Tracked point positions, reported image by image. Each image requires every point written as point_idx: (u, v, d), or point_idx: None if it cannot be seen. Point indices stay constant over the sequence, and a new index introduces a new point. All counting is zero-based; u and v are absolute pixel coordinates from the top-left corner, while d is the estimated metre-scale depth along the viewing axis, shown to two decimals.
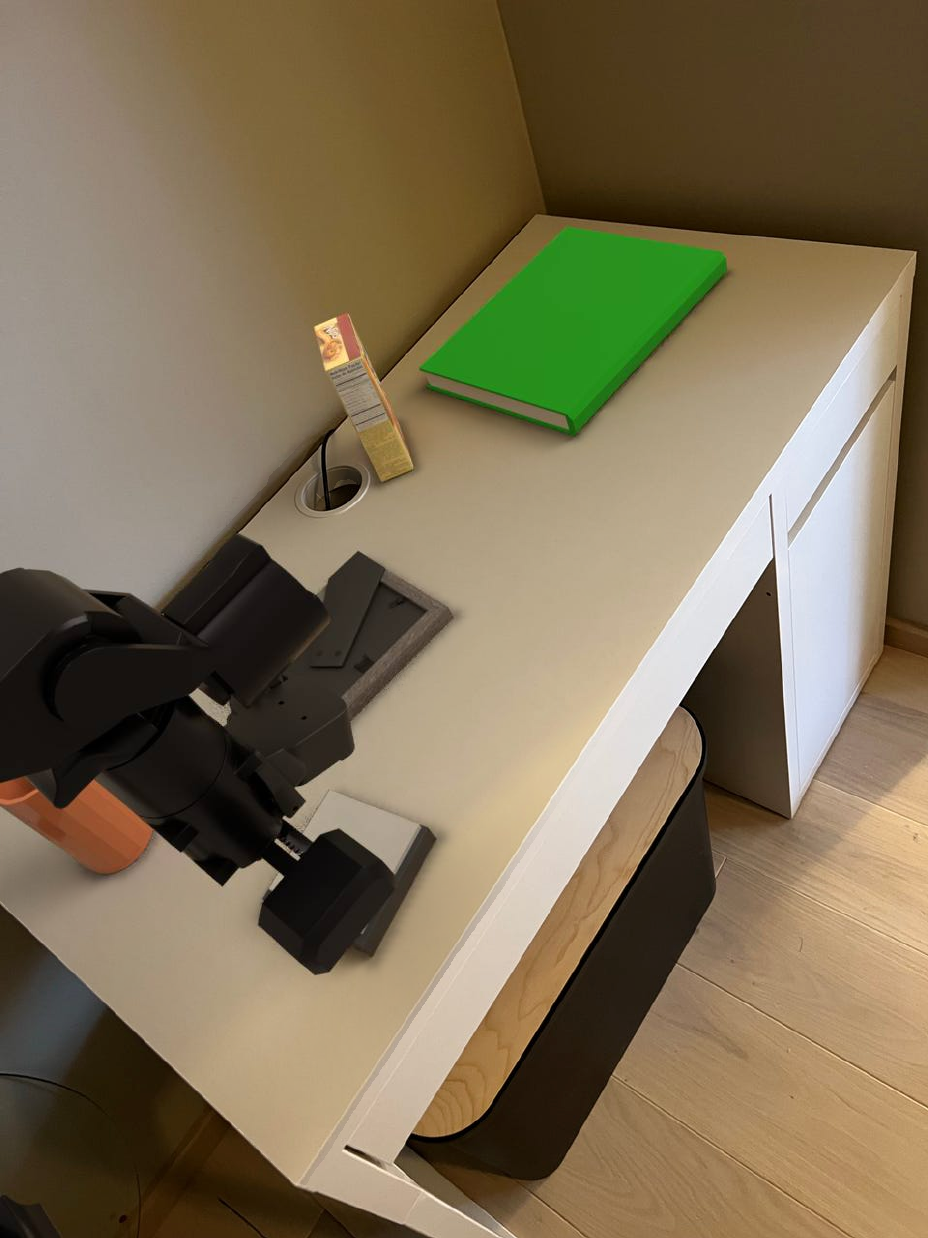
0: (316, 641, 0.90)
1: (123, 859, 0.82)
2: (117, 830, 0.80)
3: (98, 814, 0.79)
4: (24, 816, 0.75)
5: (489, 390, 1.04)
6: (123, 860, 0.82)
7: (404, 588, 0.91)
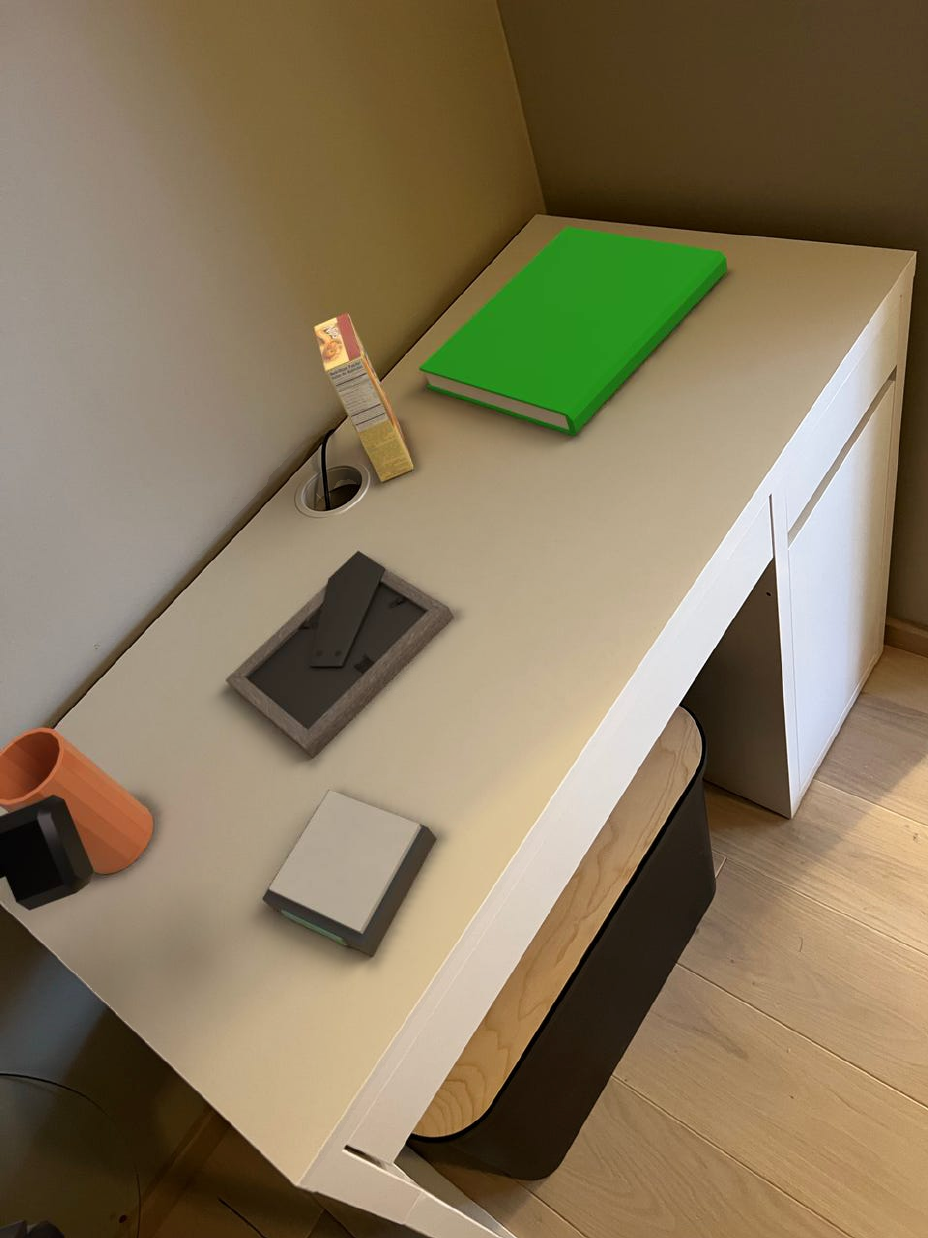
0: (316, 641, 0.90)
1: (123, 859, 0.82)
2: (117, 830, 0.80)
3: (98, 814, 0.79)
4: None
5: (489, 390, 1.04)
6: (123, 860, 0.82)
7: (404, 588, 0.91)
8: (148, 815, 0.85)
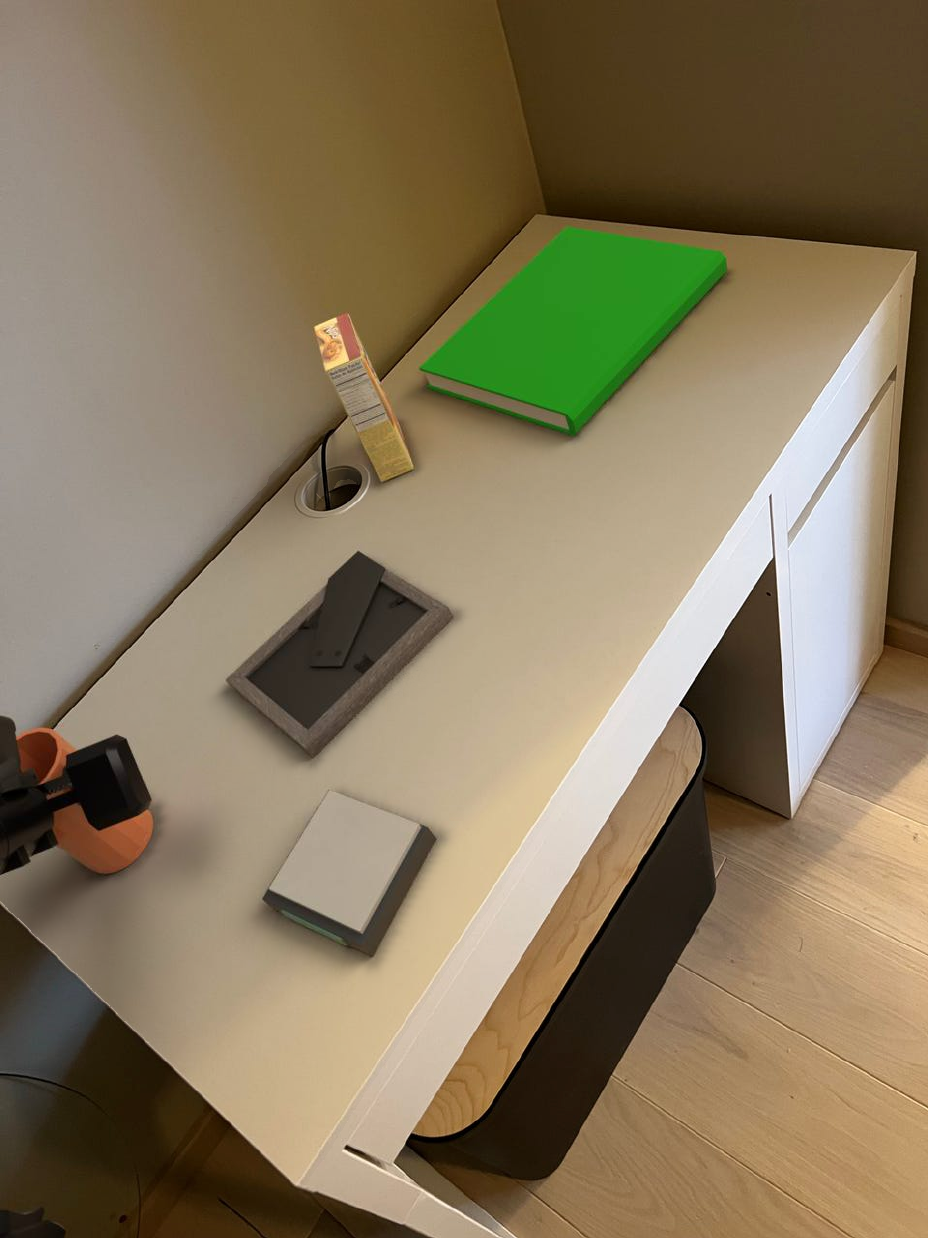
0: (316, 641, 0.90)
1: (123, 859, 0.82)
2: (116, 830, 0.80)
3: None
4: None
5: (489, 390, 1.04)
6: (123, 860, 0.82)
7: (404, 588, 0.91)
8: (148, 815, 0.85)
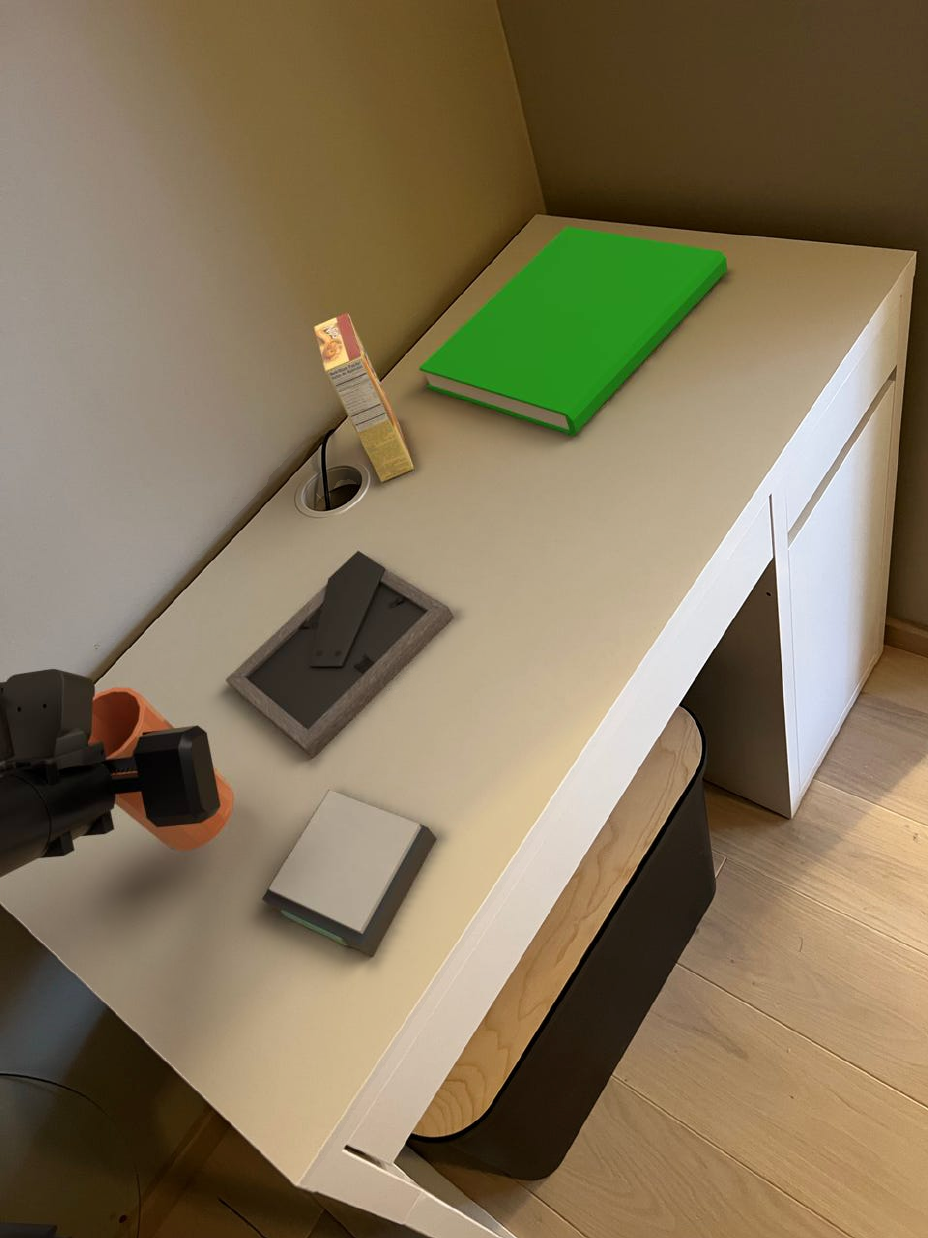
0: (316, 641, 0.90)
1: (192, 841, 0.75)
2: None
3: None
4: None
5: (489, 390, 1.04)
6: (191, 842, 0.75)
7: (404, 588, 0.91)
8: (229, 798, 0.77)
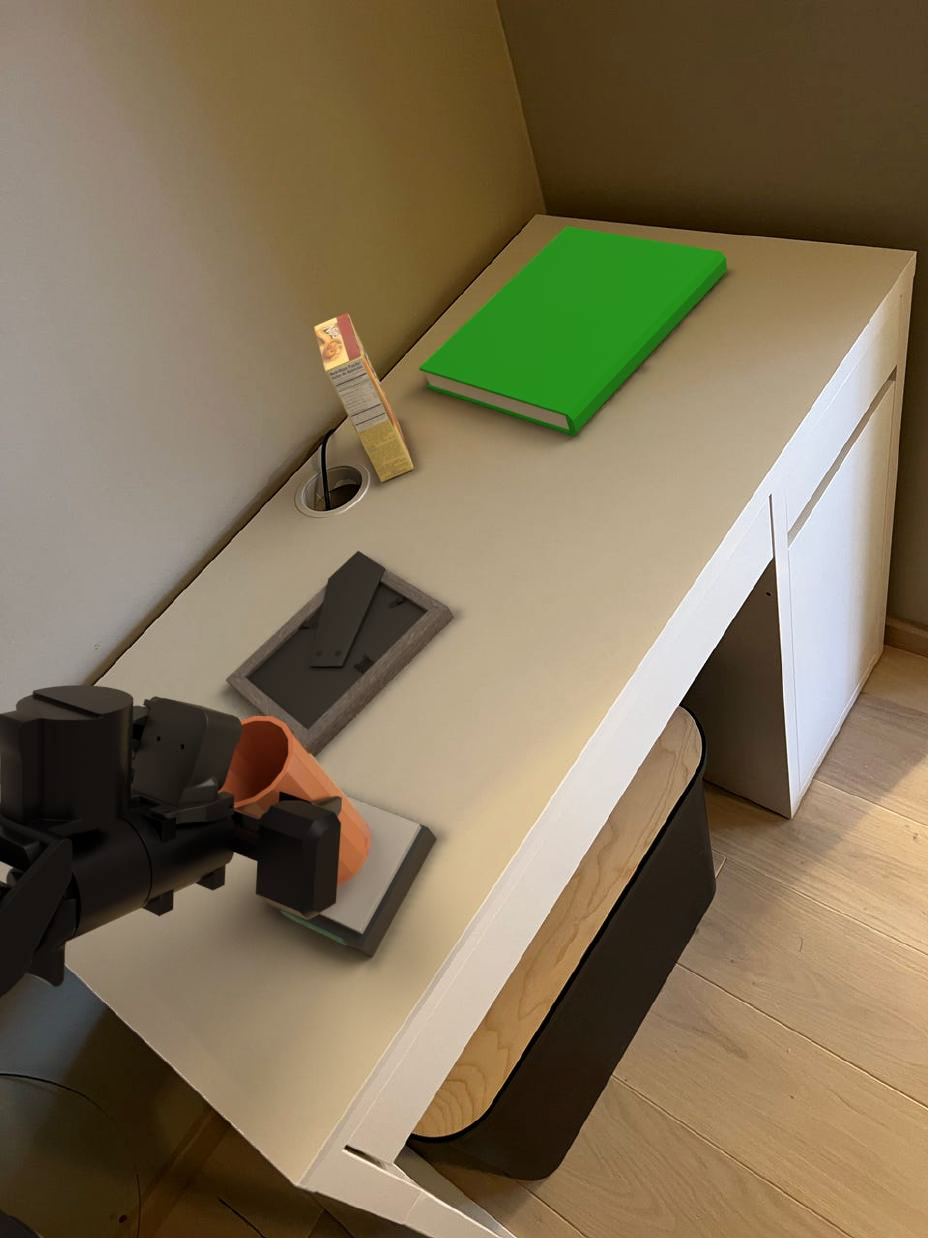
0: (316, 641, 0.90)
1: None
2: None
3: None
4: None
5: (489, 390, 1.04)
6: None
7: (404, 588, 0.91)
8: (364, 851, 0.70)
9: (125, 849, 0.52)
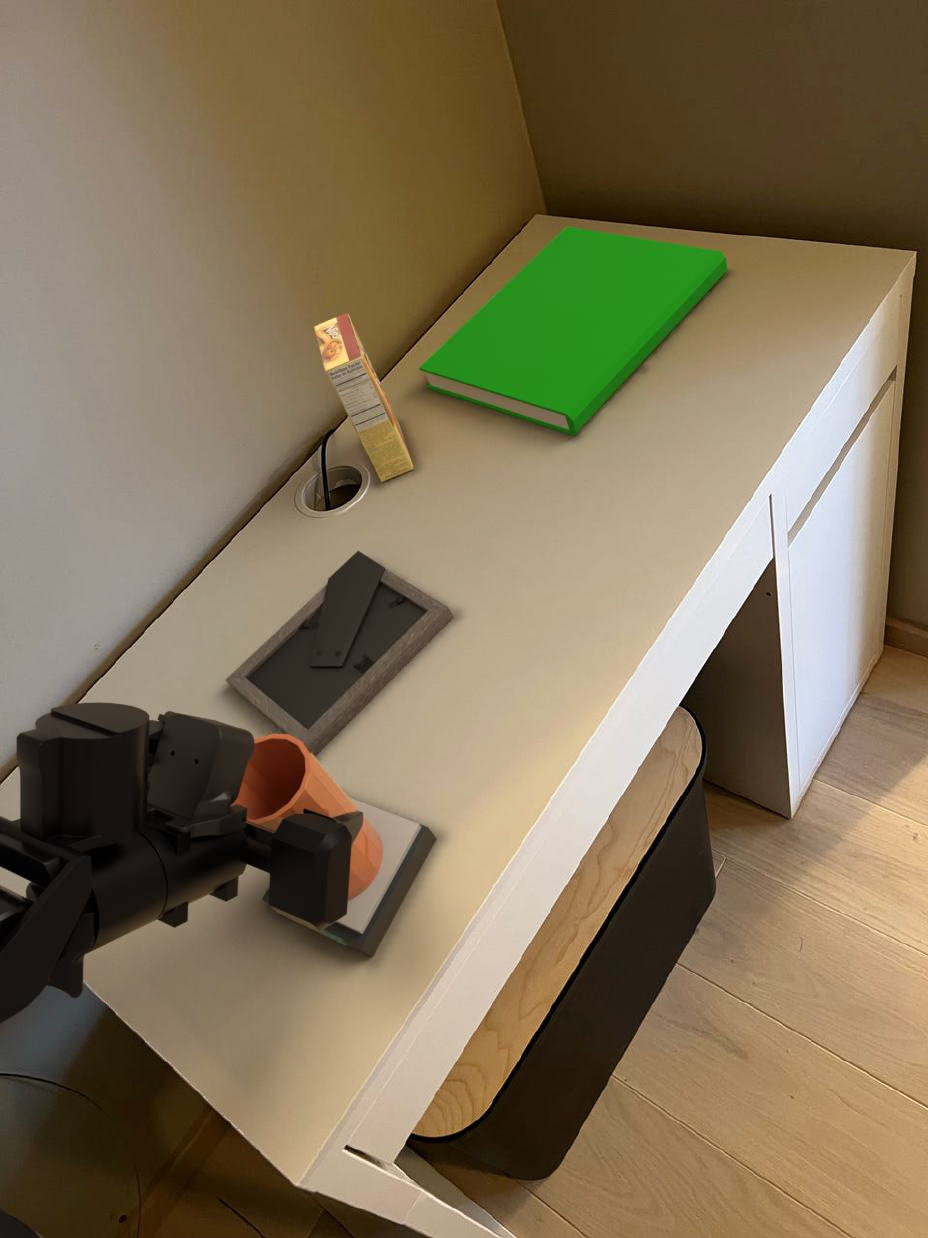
0: (316, 641, 0.90)
1: None
2: None
3: None
4: None
5: (489, 390, 1.04)
6: None
7: (404, 588, 0.91)
8: (376, 863, 0.72)
9: (141, 863, 0.53)
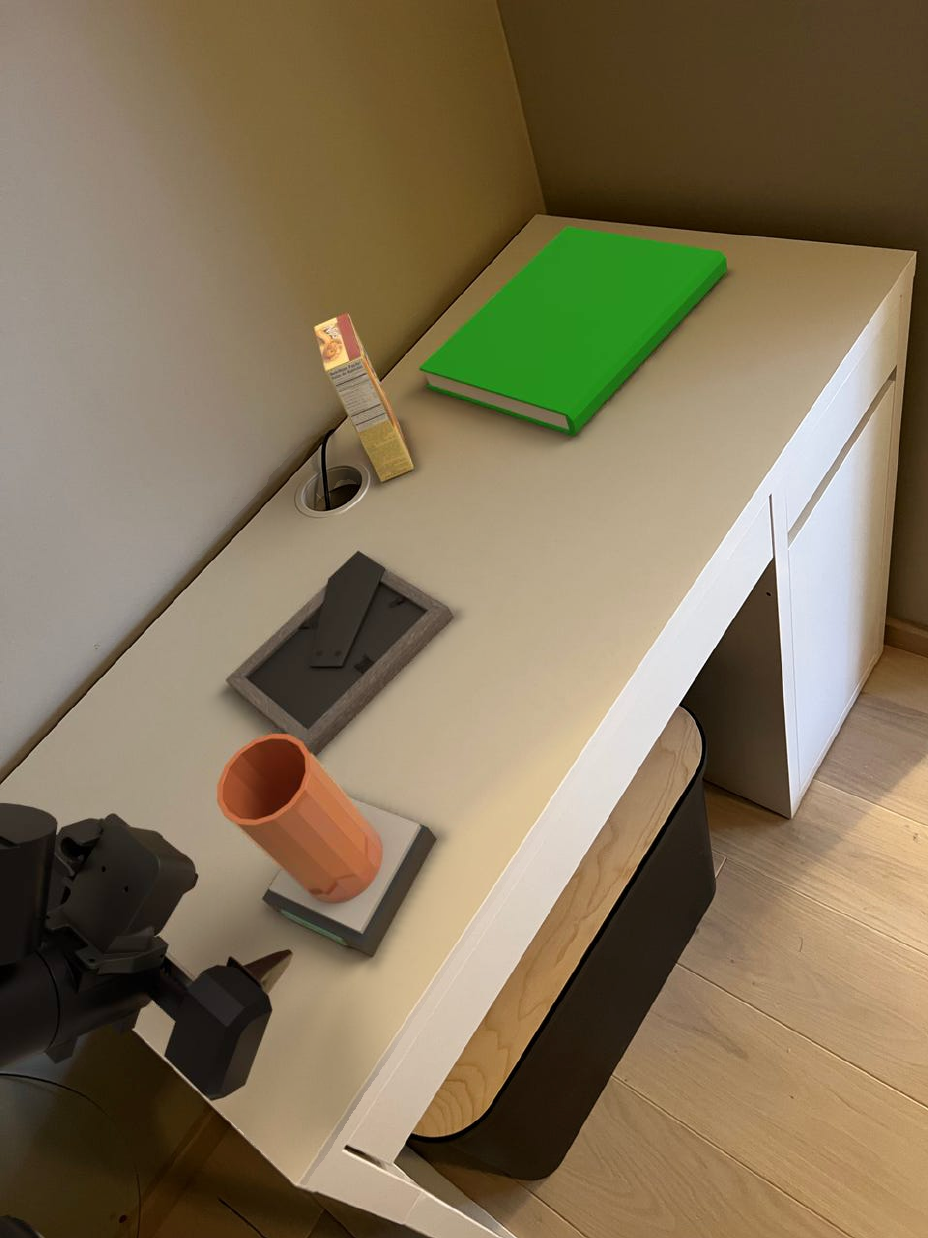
0: (316, 641, 0.90)
1: (327, 898, 0.71)
2: (330, 876, 0.68)
3: (314, 859, 0.66)
4: None
5: (489, 390, 1.04)
6: (327, 898, 0.71)
7: (404, 588, 0.91)
8: (376, 863, 0.72)
9: (32, 988, 0.48)
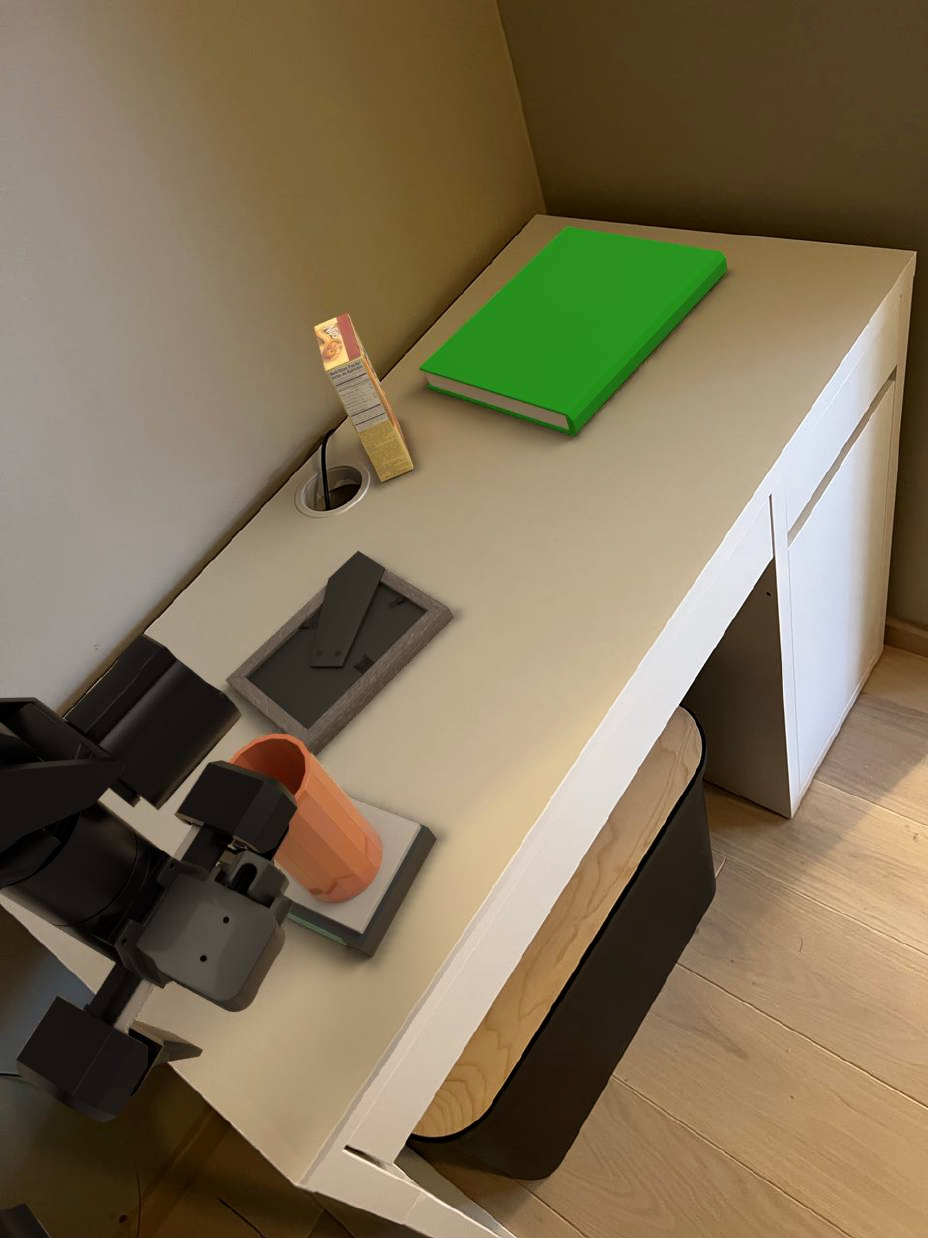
0: (316, 641, 0.90)
1: (327, 898, 0.71)
2: (330, 876, 0.68)
3: (314, 859, 0.66)
4: None
5: (489, 390, 1.04)
6: (327, 898, 0.71)
7: (404, 588, 0.91)
8: (376, 863, 0.72)
9: (122, 846, 0.46)
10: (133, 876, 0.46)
